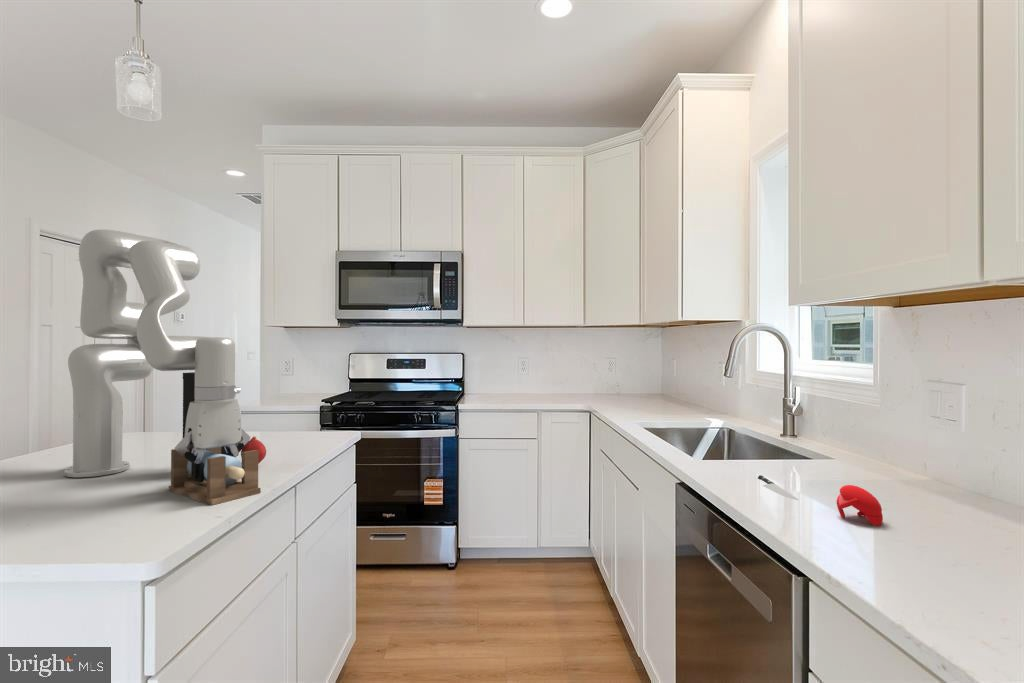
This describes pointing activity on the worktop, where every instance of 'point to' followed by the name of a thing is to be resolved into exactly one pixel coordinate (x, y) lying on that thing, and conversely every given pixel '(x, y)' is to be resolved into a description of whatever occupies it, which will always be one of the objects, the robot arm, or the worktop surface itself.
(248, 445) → the onion
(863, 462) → the worktop surface
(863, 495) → the cap
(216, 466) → the holder
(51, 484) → the worktop surface
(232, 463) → the blue rolling pin
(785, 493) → the chef's knife
